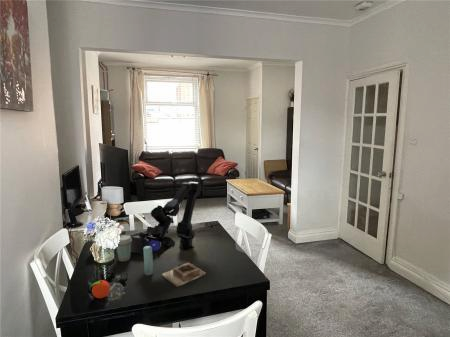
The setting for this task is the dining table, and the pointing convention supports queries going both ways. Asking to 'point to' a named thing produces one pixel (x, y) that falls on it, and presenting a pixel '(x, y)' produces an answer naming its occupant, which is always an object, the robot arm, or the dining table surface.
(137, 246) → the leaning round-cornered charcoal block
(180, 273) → the keyhole socket
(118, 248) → the coffee cup
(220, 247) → the dining table surface
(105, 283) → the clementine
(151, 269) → the peg
